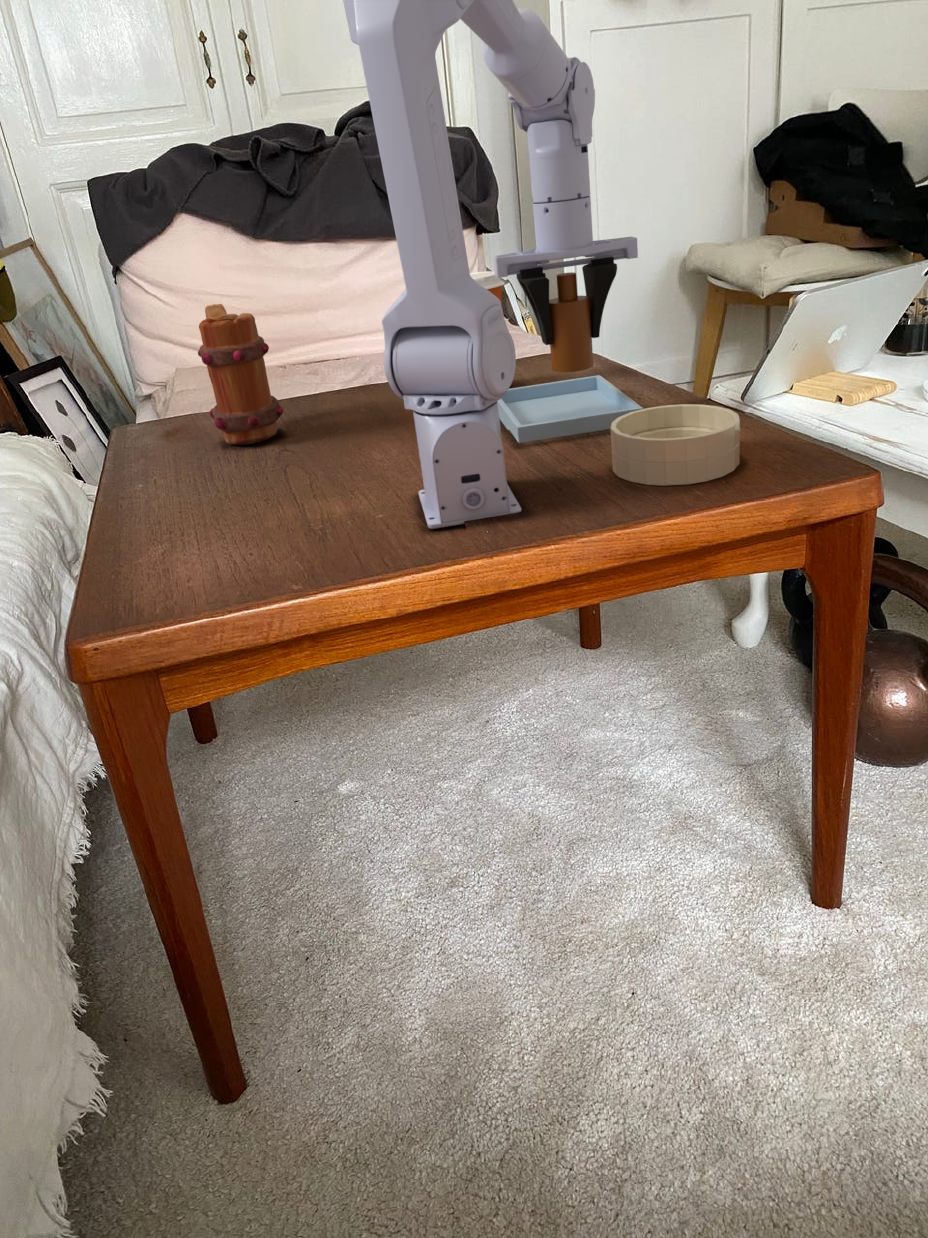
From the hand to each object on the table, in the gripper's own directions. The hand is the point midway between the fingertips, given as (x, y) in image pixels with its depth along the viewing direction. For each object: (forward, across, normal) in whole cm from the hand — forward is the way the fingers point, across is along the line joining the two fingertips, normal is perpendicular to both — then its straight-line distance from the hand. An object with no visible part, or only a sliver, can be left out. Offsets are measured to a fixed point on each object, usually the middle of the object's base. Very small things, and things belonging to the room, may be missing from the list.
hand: (571, 339), depth 100 cm
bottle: (+3, 0, 0) cm, 3 cm away
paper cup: (+9, +7, -21) cm, 24 cm away
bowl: (+9, -4, +21) cm, 23 cm away
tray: (+9, +1, -2) cm, 9 cm away
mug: (+9, +37, -16) cm, 41 cm away
